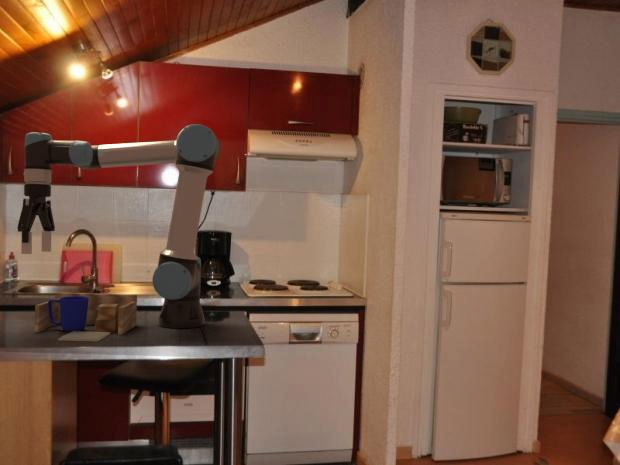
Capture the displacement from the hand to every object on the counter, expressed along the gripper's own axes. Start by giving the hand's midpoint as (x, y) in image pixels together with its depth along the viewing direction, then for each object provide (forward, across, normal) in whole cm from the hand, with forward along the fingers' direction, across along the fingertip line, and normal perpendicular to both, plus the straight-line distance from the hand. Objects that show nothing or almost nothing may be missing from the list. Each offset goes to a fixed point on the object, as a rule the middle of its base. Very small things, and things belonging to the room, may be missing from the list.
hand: (36, 252), depth 180 cm
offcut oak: (+20, -1, +22) cm, 30 cm away
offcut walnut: (+24, -1, +22) cm, 33 cm away
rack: (+24, -2, +15) cm, 28 cm away
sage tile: (+24, +11, +19) cm, 32 cm away
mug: (+24, +1, +10) cm, 26 cm away
